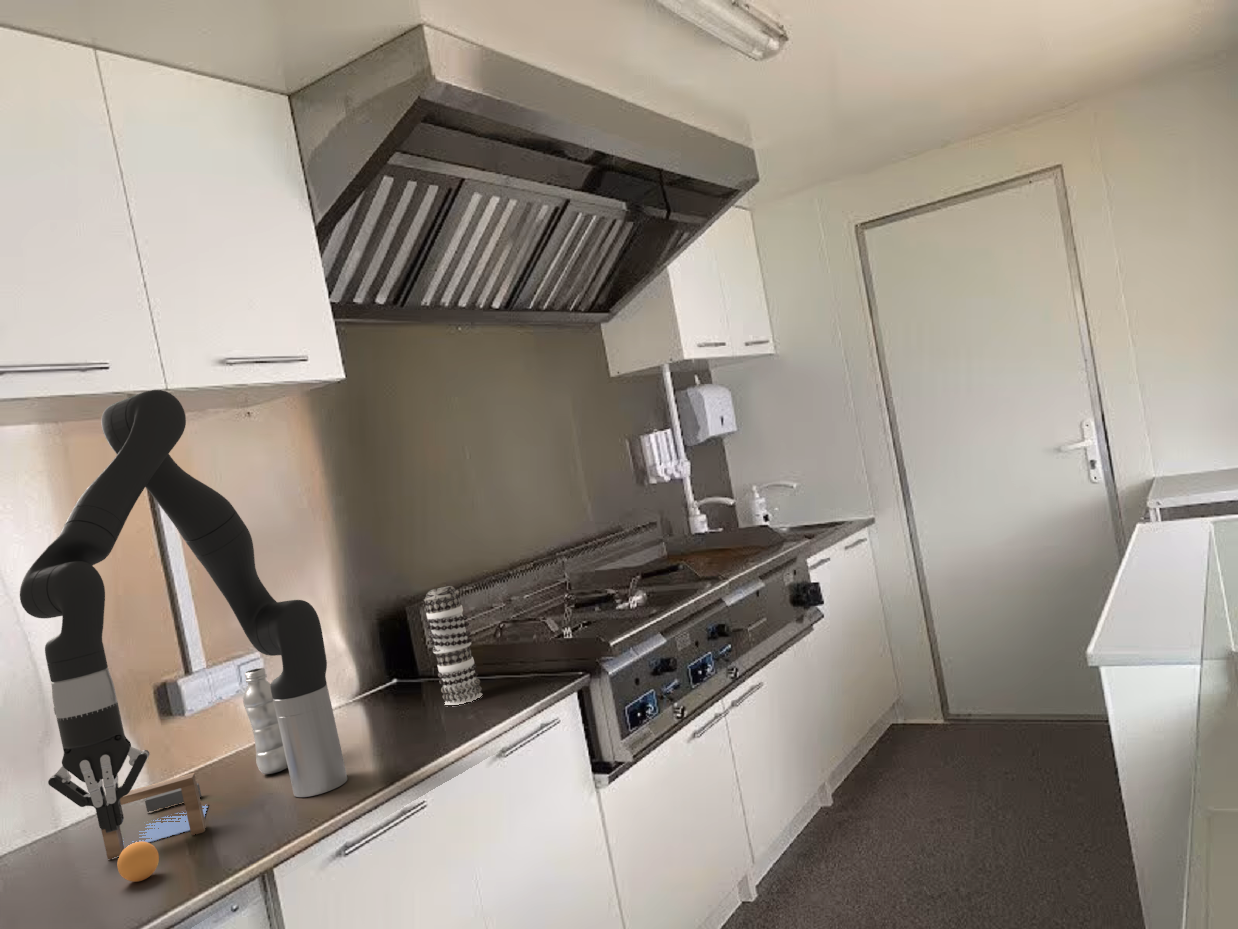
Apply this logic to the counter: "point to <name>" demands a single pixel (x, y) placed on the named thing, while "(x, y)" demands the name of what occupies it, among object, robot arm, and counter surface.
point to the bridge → (185, 782)
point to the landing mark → (167, 827)
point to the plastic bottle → (264, 723)
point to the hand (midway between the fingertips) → (113, 830)
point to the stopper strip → (165, 799)
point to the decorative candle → (451, 646)
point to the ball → (138, 861)
